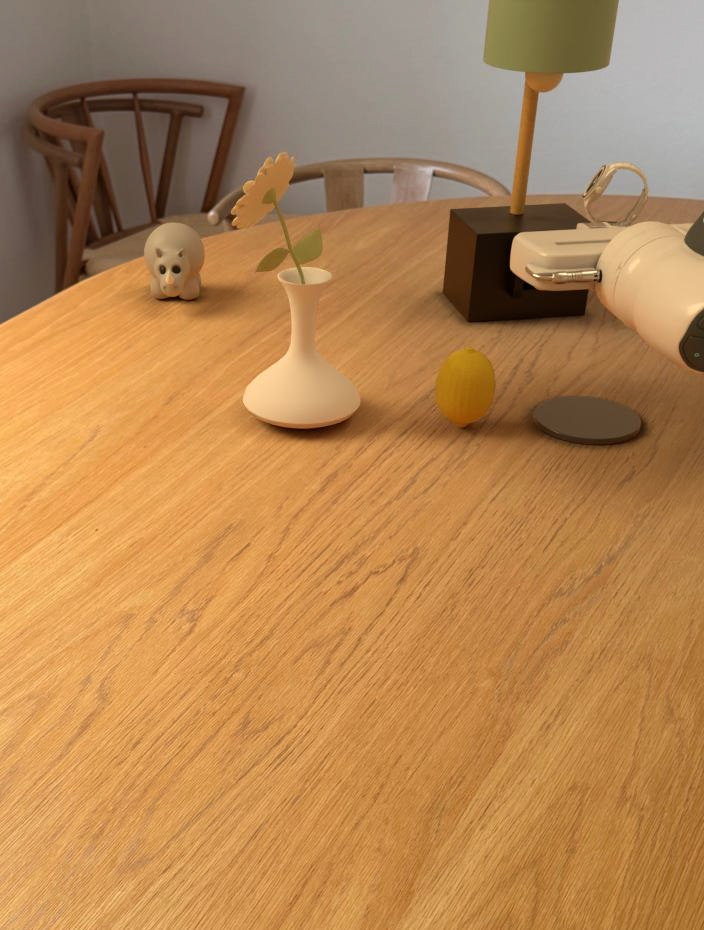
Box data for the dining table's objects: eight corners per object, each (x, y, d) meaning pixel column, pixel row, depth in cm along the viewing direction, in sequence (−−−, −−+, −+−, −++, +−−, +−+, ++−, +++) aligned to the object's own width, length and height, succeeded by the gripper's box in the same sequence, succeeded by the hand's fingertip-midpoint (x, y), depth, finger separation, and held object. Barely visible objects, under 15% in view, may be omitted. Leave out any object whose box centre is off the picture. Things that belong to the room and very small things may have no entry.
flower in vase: (313, 383, 129) (321, 126, 115) (383, 421, 121) (401, 150, 107) (206, 412, 123) (201, 146, 109) (273, 455, 115) (276, 173, 101)
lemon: (496, 438, 118) (507, 357, 113) (438, 440, 118) (446, 359, 113) (482, 414, 122) (492, 335, 118) (426, 416, 122) (433, 337, 118)
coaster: (630, 402, 124) (631, 397, 124) (648, 446, 116) (649, 440, 116) (527, 399, 125) (528, 394, 125) (538, 443, 117) (539, 437, 117)
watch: (573, 243, 167) (586, 157, 161) (636, 246, 166) (651, 160, 160) (574, 256, 163) (587, 168, 156) (639, 259, 161) (654, 171, 155)
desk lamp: (593, 322, 143) (646, -6, 124) (474, 330, 141) (510, -2, 122) (552, 285, 153) (595, -23, 135) (441, 292, 152) (469, -19, 133)
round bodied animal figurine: (137, 318, 145) (133, 245, 140) (149, 284, 155) (146, 214, 150) (199, 319, 145) (198, 245, 140) (207, 285, 155) (206, 215, 150)
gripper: (533, 315, 115) (485, 267, 126) (744, 302, 117) (678, 256, 128) (542, 246, 111) (492, 203, 122) (759, 234, 113) (691, 193, 125)
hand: (589, 230), depth 125 cm, fingers closed
